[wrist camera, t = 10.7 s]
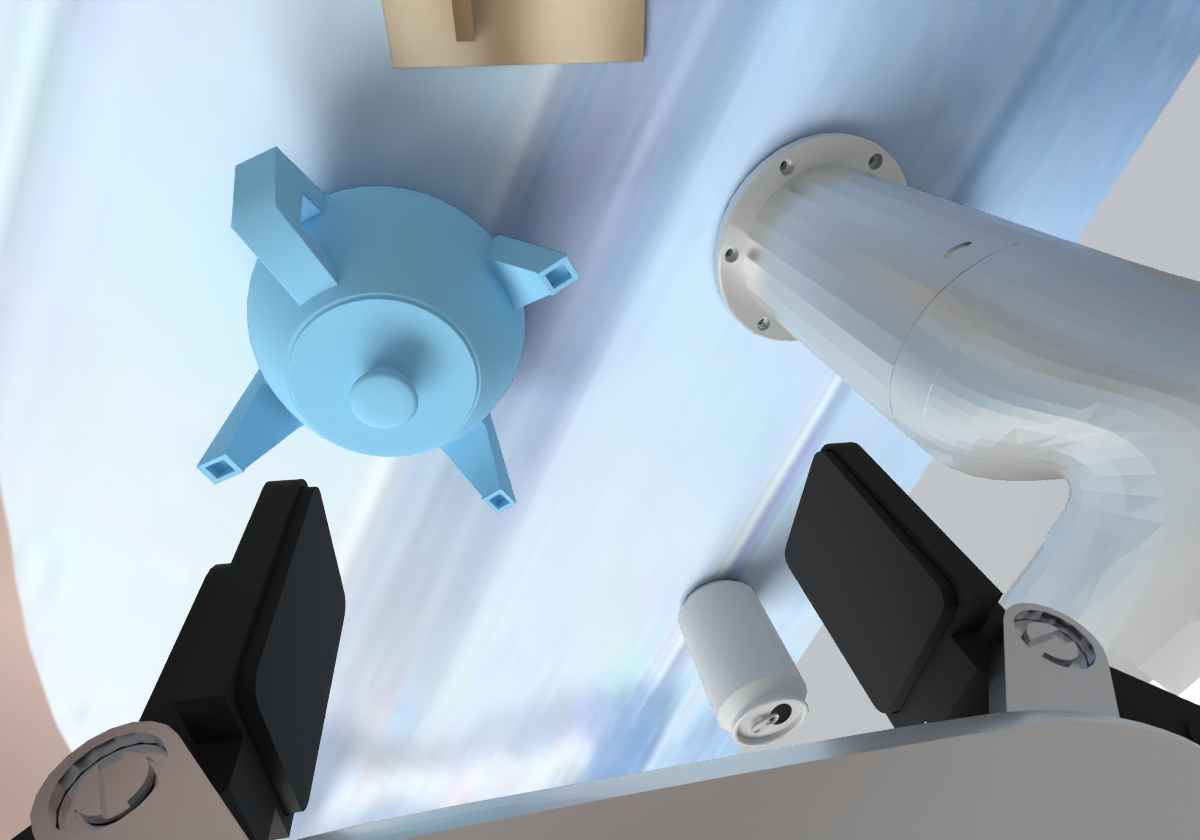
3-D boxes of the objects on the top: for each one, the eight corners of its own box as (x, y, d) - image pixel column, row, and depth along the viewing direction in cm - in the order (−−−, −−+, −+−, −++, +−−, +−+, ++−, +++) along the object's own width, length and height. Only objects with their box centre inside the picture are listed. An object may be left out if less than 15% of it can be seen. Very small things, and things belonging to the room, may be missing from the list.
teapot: (567, 215, 34) (612, 281, 25) (500, 434, 40) (517, 547, 32) (262, 121, 28) (181, 163, 19) (244, 393, 35) (178, 515, 26)
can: (751, 616, 58) (815, 736, 48) (677, 638, 57) (726, 764, 47) (751, 563, 54) (821, 684, 44) (671, 586, 53) (724, 714, 43)
